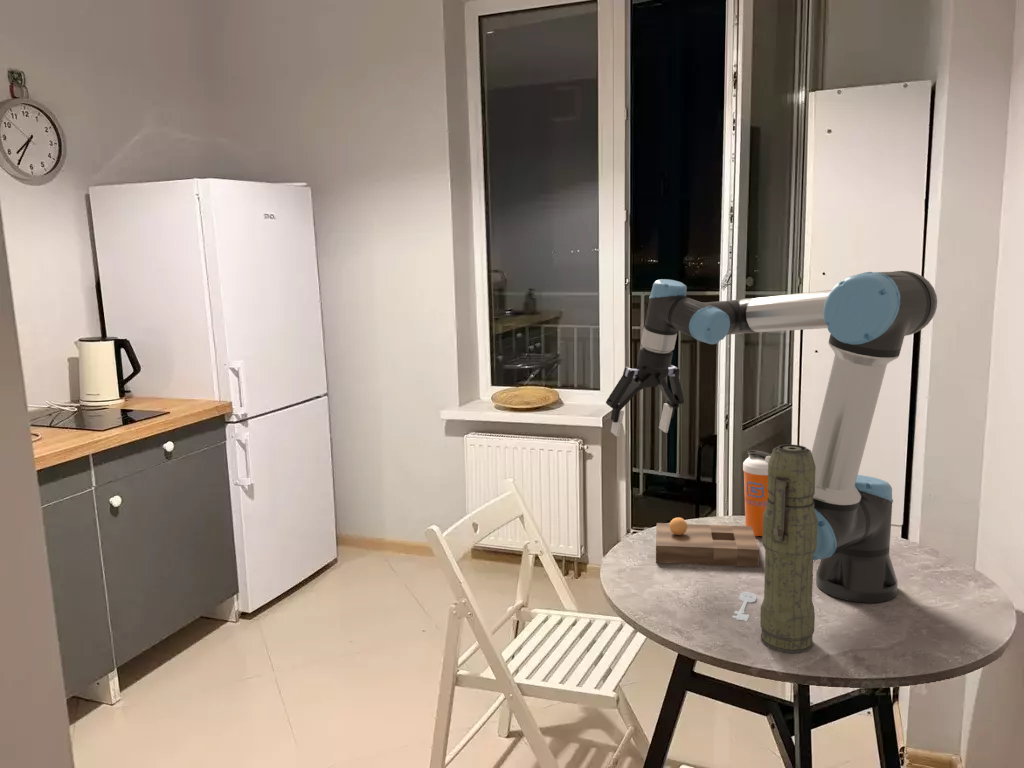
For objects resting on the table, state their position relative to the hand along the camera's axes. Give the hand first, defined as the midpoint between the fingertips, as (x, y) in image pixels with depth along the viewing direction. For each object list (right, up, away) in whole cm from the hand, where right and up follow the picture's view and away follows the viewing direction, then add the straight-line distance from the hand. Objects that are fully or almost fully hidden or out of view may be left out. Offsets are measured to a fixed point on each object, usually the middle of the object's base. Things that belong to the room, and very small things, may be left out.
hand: (639, 432), depth 186 cm
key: (+15, -32, -34) cm, 49 cm away
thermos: (+18, -34, -47) cm, 61 cm away
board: (+14, -27, -5) cm, 31 cm away
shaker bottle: (+31, -25, +7) cm, 40 cm away
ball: (+8, -21, -5) cm, 23 cm away
